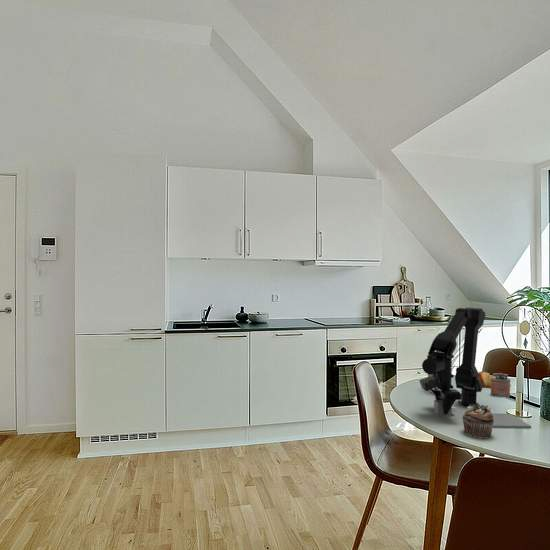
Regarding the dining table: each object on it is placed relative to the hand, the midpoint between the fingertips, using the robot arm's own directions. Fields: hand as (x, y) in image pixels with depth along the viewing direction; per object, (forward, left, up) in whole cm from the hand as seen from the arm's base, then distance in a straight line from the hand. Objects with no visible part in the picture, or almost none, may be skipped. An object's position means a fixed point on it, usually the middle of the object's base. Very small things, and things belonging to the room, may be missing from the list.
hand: (442, 411), depth 162 cm
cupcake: (+19, +4, -1) cm, 20 cm away
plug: (0, 0, -1) cm, 1 cm away
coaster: (+7, +19, -1) cm, 20 cm away
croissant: (-43, +38, -2) cm, 58 cm away
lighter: (-26, +36, -1) cm, 44 cm away
